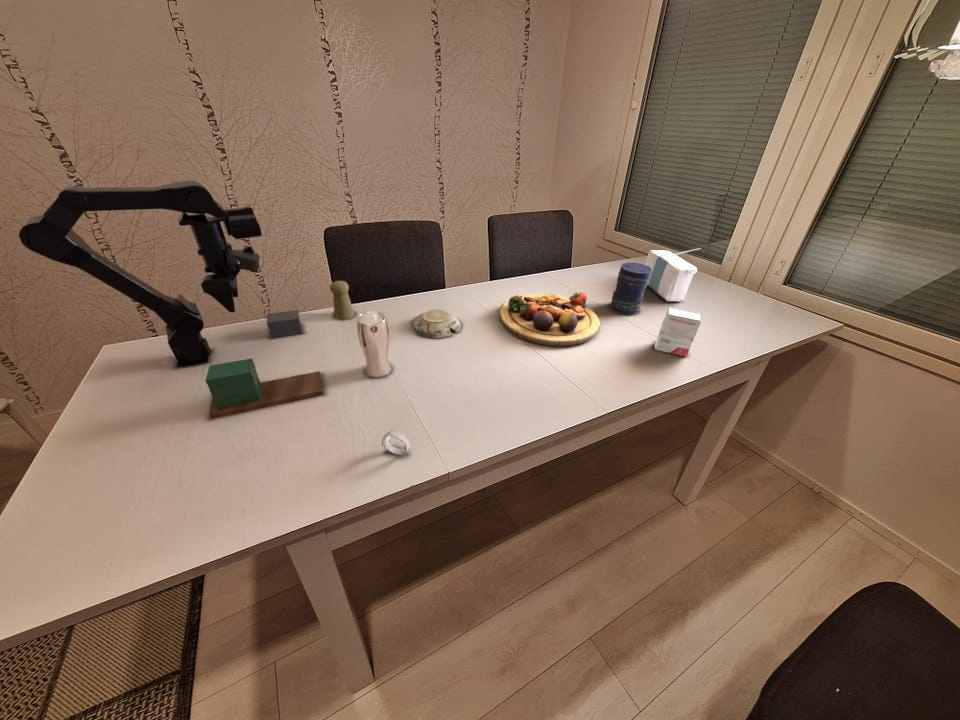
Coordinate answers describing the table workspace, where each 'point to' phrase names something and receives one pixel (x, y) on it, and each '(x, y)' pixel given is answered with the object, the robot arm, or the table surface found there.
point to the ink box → (677, 332)
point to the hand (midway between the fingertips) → (234, 304)
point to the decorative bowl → (436, 324)
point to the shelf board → (276, 393)
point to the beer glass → (374, 342)
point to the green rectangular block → (230, 374)
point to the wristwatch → (397, 435)
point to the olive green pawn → (341, 300)
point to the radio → (669, 274)
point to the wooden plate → (550, 319)
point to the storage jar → (630, 288)
